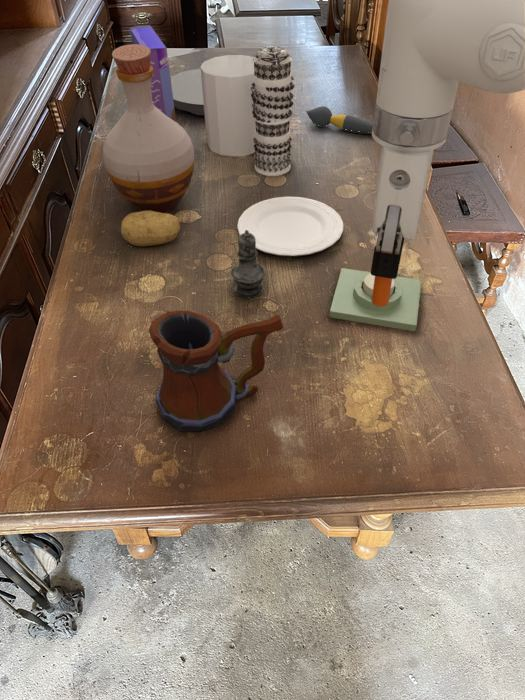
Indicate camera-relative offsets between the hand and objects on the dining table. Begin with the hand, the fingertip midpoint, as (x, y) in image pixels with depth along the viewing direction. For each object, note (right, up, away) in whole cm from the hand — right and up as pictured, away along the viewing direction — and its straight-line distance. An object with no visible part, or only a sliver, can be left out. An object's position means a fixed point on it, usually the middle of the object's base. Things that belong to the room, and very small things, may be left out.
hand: (385, 267), depth 68 cm
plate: (-10, +13, +40) cm, 43 cm away
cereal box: (-40, +42, +68) cm, 89 cm away
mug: (-21, -18, +10) cm, 29 cm away
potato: (-37, +10, +38) cm, 54 cm away
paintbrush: (+5, +47, +72) cm, 86 cm away
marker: (0, -4, +4) cm, 6 cm away
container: (-22, +41, +67) cm, 82 cm away
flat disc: (-29, +60, +86) cm, 109 cm away
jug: (-38, +21, +48) cm, 65 cm away
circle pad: (+4, 0, +23) cm, 23 cm away
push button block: (+4, -2, +24) cm, 25 cm away
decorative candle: (-13, +32, +58) cm, 68 cm away
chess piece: (-18, 0, +27) cm, 33 cm away
